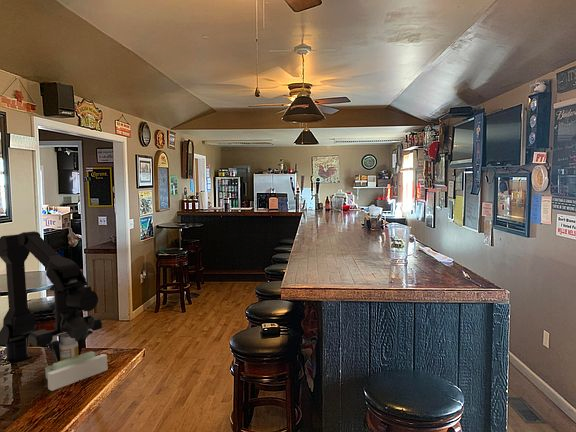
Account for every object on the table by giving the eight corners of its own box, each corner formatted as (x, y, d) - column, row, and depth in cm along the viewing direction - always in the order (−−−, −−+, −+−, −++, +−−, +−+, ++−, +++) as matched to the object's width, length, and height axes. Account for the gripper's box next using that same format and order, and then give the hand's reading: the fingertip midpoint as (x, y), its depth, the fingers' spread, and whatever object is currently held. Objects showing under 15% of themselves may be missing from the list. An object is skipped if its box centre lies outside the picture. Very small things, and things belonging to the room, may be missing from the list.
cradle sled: (45, 378, 121) (44, 359, 121) (83, 364, 130) (82, 347, 129) (57, 384, 117) (56, 365, 116) (95, 370, 126) (94, 352, 125)
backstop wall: (48, 388, 115) (47, 372, 114) (103, 368, 128) (103, 353, 127) (51, 391, 114) (50, 374, 113) (107, 370, 126) (107, 355, 126)
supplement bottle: (73, 362, 128) (71, 330, 127) (82, 366, 125) (81, 334, 124) (54, 368, 123) (53, 335, 123) (64, 373, 120) (62, 339, 119)
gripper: (45, 319, 110) (47, 378, 111) (111, 303, 125) (113, 355, 126) (26, 312, 117) (29, 367, 118) (91, 298, 132) (93, 347, 133)
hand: (68, 359), depth 124 cm, fingers closed on supplement bottle, 5 cm apart
